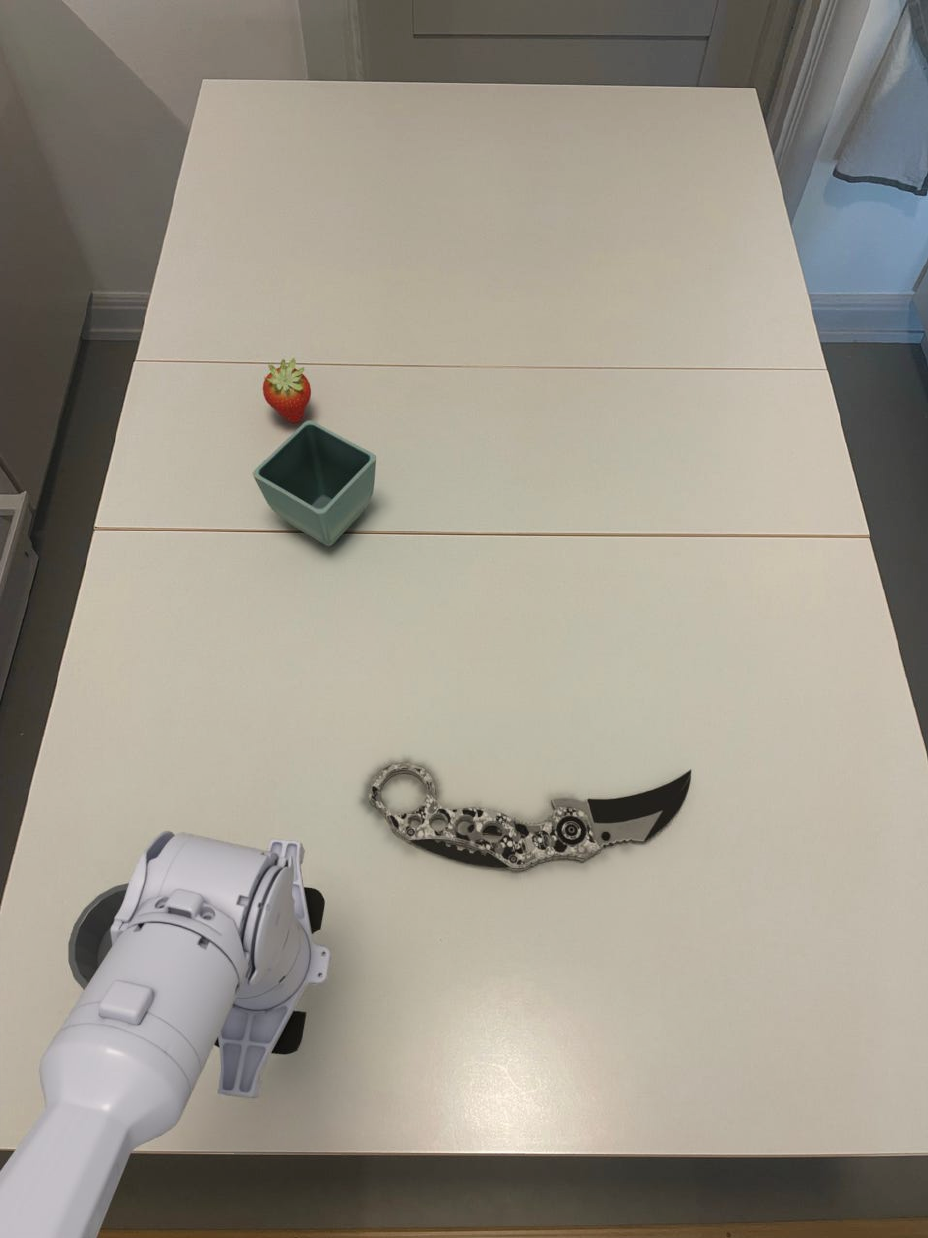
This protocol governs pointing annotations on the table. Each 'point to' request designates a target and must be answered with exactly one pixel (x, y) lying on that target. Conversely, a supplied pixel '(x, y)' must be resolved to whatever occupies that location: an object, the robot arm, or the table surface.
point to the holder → (94, 934)
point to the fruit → (287, 390)
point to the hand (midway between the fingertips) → (285, 983)
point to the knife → (523, 845)
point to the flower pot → (318, 481)
